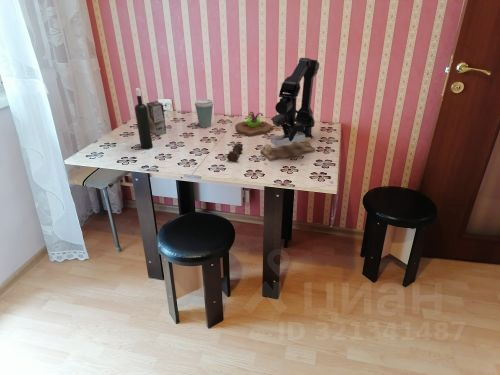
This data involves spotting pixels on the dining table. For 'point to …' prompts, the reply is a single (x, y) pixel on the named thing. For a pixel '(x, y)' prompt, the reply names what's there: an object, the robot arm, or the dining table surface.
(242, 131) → the plant
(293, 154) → the peg rack
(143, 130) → the wine bottle
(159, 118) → the coffee box
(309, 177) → the dining table surface
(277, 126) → the robot arm
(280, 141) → the grey stepped block
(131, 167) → the dining table surface
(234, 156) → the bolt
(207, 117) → the disposable coffee cup
